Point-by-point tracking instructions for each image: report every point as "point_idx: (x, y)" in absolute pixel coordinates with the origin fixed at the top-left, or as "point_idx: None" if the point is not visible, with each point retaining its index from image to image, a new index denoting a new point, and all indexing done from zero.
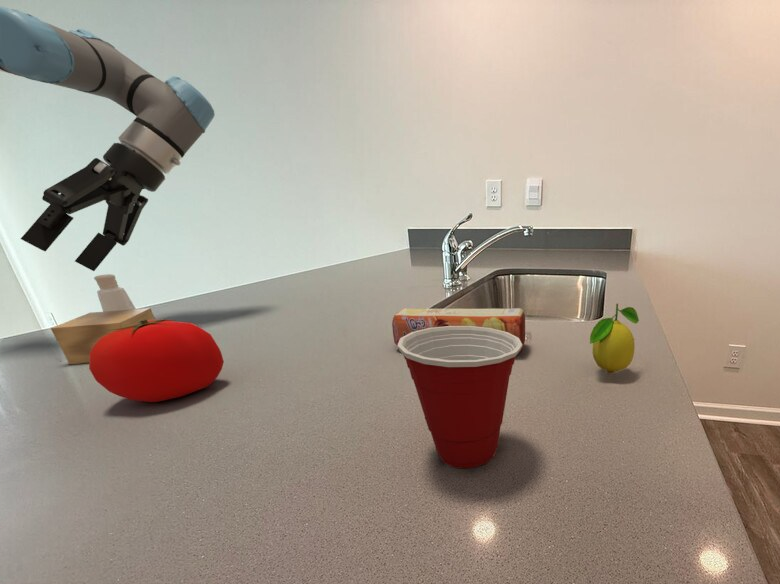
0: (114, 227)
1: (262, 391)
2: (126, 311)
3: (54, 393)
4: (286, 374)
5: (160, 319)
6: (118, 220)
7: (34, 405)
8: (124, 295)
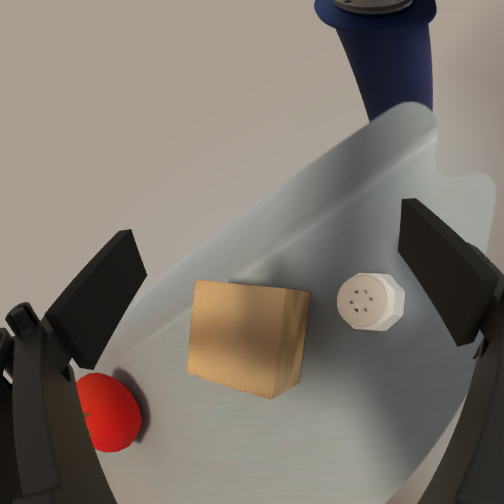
0: (478, 383)
1: (122, 454)
2: (262, 361)
3: (155, 314)
4: (142, 475)
5: (88, 428)
6: (448, 450)
7: (139, 310)
8: (364, 329)
